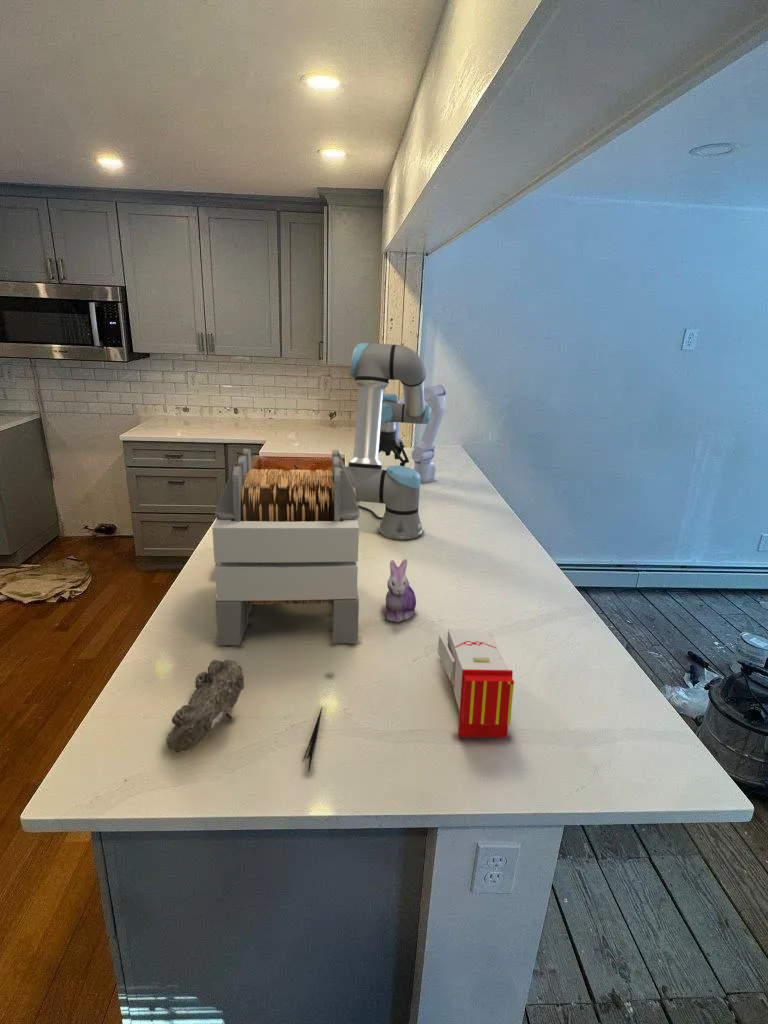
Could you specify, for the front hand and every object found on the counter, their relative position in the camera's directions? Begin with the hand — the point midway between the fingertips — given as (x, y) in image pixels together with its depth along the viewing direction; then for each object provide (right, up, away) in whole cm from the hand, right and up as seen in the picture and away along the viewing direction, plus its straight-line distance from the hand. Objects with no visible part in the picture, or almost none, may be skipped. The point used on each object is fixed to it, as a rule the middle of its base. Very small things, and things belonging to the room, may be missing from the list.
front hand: (385, 477), depth 251 cm
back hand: (+4, +11, +22) cm, 25 cm away
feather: (-13, -55, -143) cm, 154 cm away
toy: (+17, -53, -133) cm, 144 cm away
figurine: (+4, -42, -104) cm, 112 cm away
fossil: (-33, -54, -143) cm, 157 cm away
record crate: (-25, -41, -104) cm, 115 cm away
